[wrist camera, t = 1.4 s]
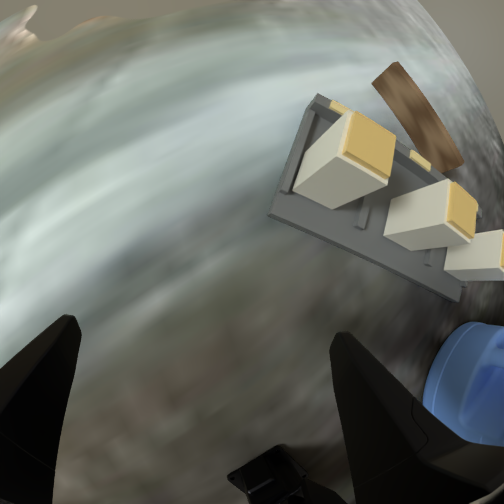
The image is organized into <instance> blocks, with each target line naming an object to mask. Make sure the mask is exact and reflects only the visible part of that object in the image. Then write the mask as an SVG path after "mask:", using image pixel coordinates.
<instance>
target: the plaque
mask: <svg viewBox="0 0 504 504" xmlns="http://www.w3.org/2000/svg"><path fill="white" fill-rule="evenodd" d="M372 85H373V86H374V87H375V89H376V90H377V91H378V92H379V94H380V95H381V96H382V98H383V99H384V100H385V102H386V103H387V104H388V106H389V107H390V108H391V110H392V111H393V113H394V114H395V115H396V117H397V118H398V120H399V121H400V123H401V124H402V126H403V127H404V129H405V130H406V132H407V133H408V135H409V136H410V138H411V140H412V141H413V143H414V144H415V146H416V148H417V149H418V151H419V152H420V154H421V156H422V157H423V158H424V159H426V160H427V161H428V162H429V163H431V166H433V167H434V168H435V169H437V170H438V171H439V172H440V173H444V172H446V171H449V170H451V169H454V168H456V167H459V166H461V165H462V164H463V163H464V160H463V158H462V156H461V154H460V153H459V151H458V149H457V147H456V145H455V143H454V142H453V140H452V138H451V137H450V135H449V133H448V131H447V130H446V128H445V126H444V125H443V123H442V122H441V120H440V118H439V117H438V115H437V114H436V112H435V111H434V109H433V108H432V106H431V105H430V103H429V102H428V100H427V99H426V97H425V96H424V95H423V93H422V92H421V90H420V89H419V88H418V86H417V85H416V84H415V82H414V81H413V80H412V78H411V77H410V76H409V75H408V73H407V72H406V71H405V70H404V68H403V67H402V66H401V65H400V63H399V62H394V63H392V64H391V65H390V66H389V67H388V68H387V69H386V70H385V71H384V72H383V73H382V74H380V75H379V76H378V77H377V78H376V79H375V80H374V81H373V82H372Z"/></svg>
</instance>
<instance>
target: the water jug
mask: <svg viewBox="0 0 504 504" xmlns="http://www.w3.org/2000/svg"><path fill="white" fill-rule="evenodd" d="M423 406H424V407H425V408H426V409H427V410H428V411H430V412H431V413H432V414H433V415H434V416H435V417H436V418H438V419H439V420H440V421H441V422H442V423H444V424H445V425H446V426H447V427H449V428H450V429H451V430H452V431H453V432H455V433H456V434H457V435H458V436H460V437H461V438H463V439H464V440H467V441H469V442H473V443H479V444H486V445H494V446H503V447H504V326H496V325H487V324H485V323H480V322H468V323H465V324H463V325H461V326H460V327H458V328H457V329H456V330H454V331H453V332H452V333H451V335H450V336H449V337H448V338H447V339H446V341H445V342H444V343H443V345H442V346H441V348H440V350H439V351H438V353H437V355H436V357H435V359H434V361H433V363H432V366H431V368H430V371H429V374H428V377H427V380H426V384H425V388H424V393H423Z"/></svg>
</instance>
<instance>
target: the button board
mask: <svg viewBox="0 0 504 504" xmlns="http://www.w3.org/2000/svg"><path fill="white" fill-rule="evenodd" d="M347 110H350V109H349V108H347V107H345V106H343V105H342V104H340V103H338V102H336V101H334V100H330V99H328V98H326V97H324V96H322V95H320V94H318V93H317V95H316V96H315V97H314V99H313V100H312V101H311V102H310V104H309V105H308V106H307V108H306V110H305V113H304V115H303V118H302V121H301V124H300V127H299V129H298V132H297V135H296V138H295V140H294V143H293V146H292V149H291V151H290V154H289V157H288V160H287V162H286V165H285V168H284V171H283V173H282V176H281V179H280V182H279V184H278V187H277V190H276V192H275V195H274V198H273V201H272V203H271V206H270V209H269V212H268V214H267V216H268V217H271V218H273V219H275V220H278V221H280V222H283V223H285V224H287V225H289V226H292V227H294V228H296V229H299V230H301V231H303V232H306V233H308V234H310V235H312V236H315V237H317V238H319V239H321V240H324V241H326V242H328V243H330V244H333V245H335V246H337V247H339V248H341V249H344V250H346V251H348V252H350V253H352V254H354V255H357V256H359V257H361V258H363V259H365V260H367V261H369V262H372V263H374V264H376V265H378V266H380V267H382V268H384V269H386V270H388V271H391V272H393V273H395V274H397V275H399V276H401V277H403V278H405V279H407V280H409V281H411V282H413V283H415V284H417V285H419V286H421V287H423V288H425V289H427V290H429V291H431V292H433V293H435V294H437V295H439V296H441V297H443V298H445V299H447V300H449V301H451V302H457V303H459V300H460V295H461V291H462V287H467V284H468V281H460V280H459V279H457V278H456V277H454V276H452V275H451V274H449V273H447V272H446V271H444V266H445V260H446V255H447V249H448V247H440V248H432V249H423V250H415V251H410V250H408V249H406V248H405V247H403V246H401V245H399V244H397V243H396V242H394V241H392V240H390V239H388V238H386V237H385V236H383V235H384V230H385V226H386V221H387V217H388V212H389V207H390V202H391V199H393V198H396V197H399V196H401V195H404V194H407V193H410V192H412V191H415V190H418V189H421V188H423V187H426V186H429V185H432V184H434V183H437V182H440V181H443V180H445V179H448V178H446V177H445V176H444V175H443V174H441V173H440V172H439V171H438V170H437V169H435V168H434V167H433V166H431V163H429V162H428V161H427V160H426V159H424V158H423V157H422V156H420V155H419V154H418V153H416V152H415V151H413V150H410V149H409V148H407V147H406V146H405V145H403V144H402V143H400V142H399V141H397V140H396V142H395V149H394V156H393V162H392V168H391V174H390V177H389V179H388V184H387V186H385V187H383V188H380V189H378V190H376V191H373V192H371V193H369V194H367V195H364V196H362V197H360V198H357V199H355V200H353V201H351V202H348V203H346V204H344V205H341V206H339V207H337V208H335V209H330V208H328V207H326V206H324V205H322V204H320V203H318V202H315V201H313V200H311V199H309V198H307V197H305V196H303V195H300V194H298V193H296V192H294V191H292V189H293V186H294V183H295V180H296V177H297V175H298V172H299V169H300V166H301V163H302V160H303V157H304V154H305V152H306V151H307V150H308V149H309V148H310V147H311V146H312V145H313V144H314V143H315V142H316V141H317V140H318V139H319V138H320V137H321V136H322V135H323V134H324V133H325V132H326V131H327V130H328V129H329V128H330V127H331V126H332V125H333V124H334V123H335V122H336V121H337V120H338V119H339V118H340V117H341V116H342V115H343V114H344V113H345V112H346V111H347ZM350 111H352V110H350ZM352 112H354V111H352ZM478 218H482V209H481V208H480V207H479V206H478V204H477V210H476V219H478ZM475 226H476V224H475Z"/></svg>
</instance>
